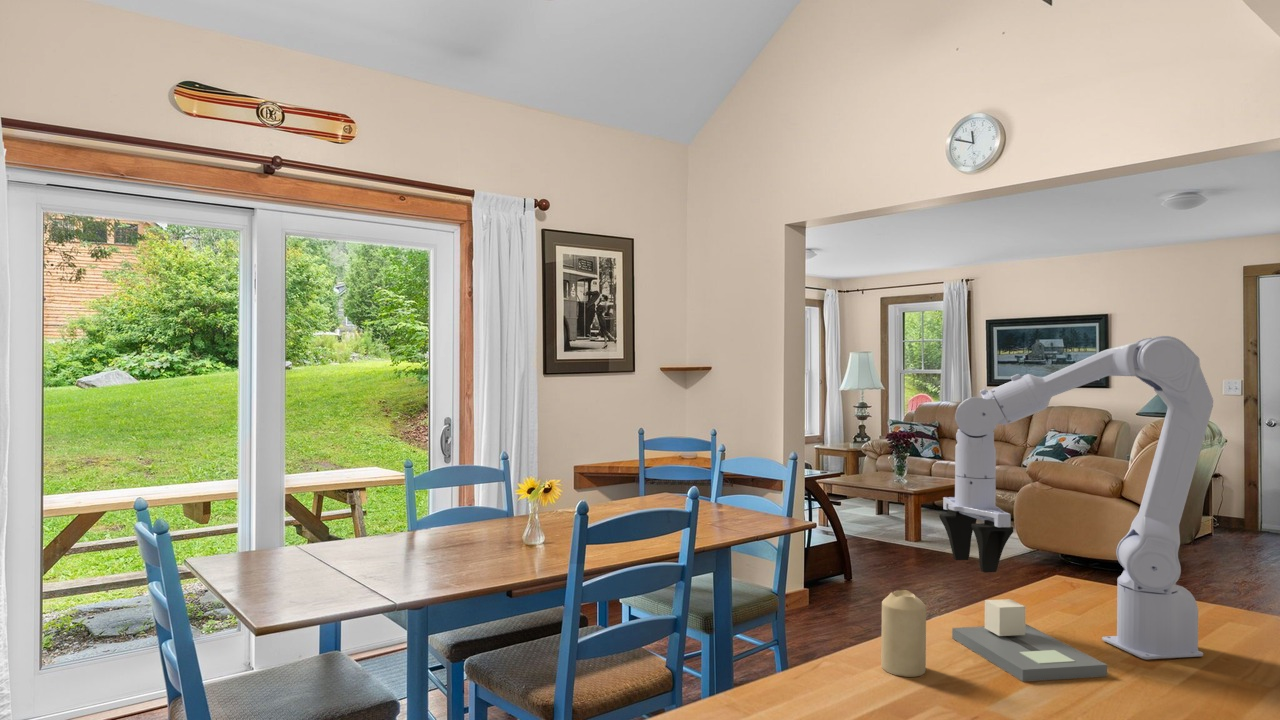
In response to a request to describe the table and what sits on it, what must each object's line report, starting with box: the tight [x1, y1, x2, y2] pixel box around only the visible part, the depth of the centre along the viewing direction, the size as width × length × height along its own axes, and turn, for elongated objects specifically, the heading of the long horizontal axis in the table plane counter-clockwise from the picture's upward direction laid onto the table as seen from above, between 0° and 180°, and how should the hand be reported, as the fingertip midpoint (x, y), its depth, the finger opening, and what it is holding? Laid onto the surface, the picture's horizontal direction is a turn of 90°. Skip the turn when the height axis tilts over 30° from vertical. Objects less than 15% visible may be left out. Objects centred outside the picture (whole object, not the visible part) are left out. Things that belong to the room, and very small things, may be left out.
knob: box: [984, 598, 1026, 636], centre depth 113 cm, size 4×4×4 cm
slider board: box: [951, 623, 1108, 683], centre depth 109 cm, size 12×16×2 cm
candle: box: [880, 589, 927, 678], centre depth 104 cm, size 6×6×10 cm
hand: (974, 565), depth 121 cm, fingers open, 7 cm apart
